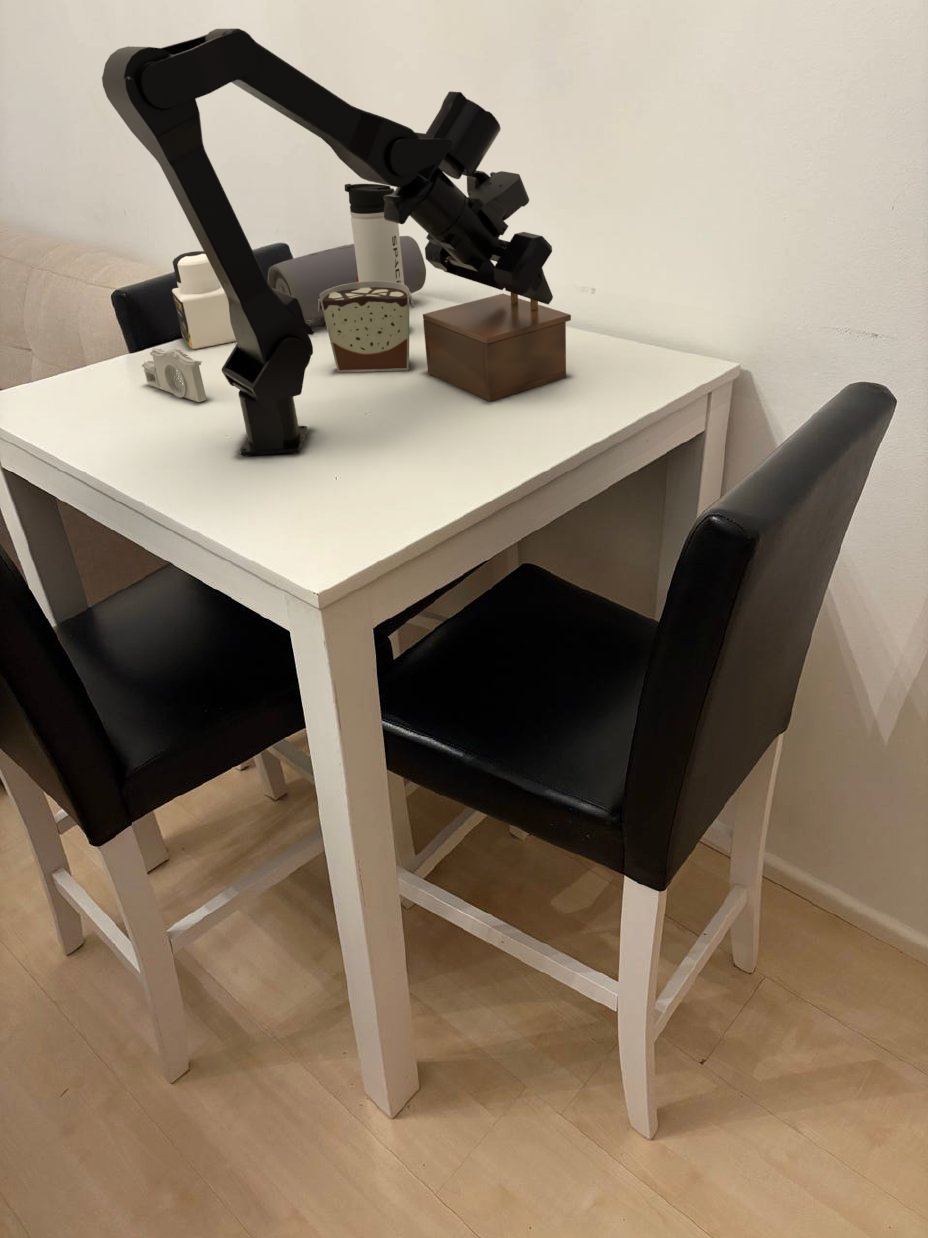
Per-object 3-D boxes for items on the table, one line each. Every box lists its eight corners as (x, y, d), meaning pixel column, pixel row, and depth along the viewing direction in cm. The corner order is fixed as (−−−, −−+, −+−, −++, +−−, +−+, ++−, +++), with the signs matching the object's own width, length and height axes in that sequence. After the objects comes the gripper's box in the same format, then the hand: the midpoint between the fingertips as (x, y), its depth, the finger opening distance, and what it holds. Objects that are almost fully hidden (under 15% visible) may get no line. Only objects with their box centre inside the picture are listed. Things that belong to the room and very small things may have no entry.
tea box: (500, 351, 129) (498, 299, 125) (566, 377, 119) (566, 321, 115) (427, 373, 123) (422, 319, 120) (490, 401, 114) (487, 344, 110)
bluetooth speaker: (300, 338, 139) (289, 267, 133) (272, 325, 145) (259, 256, 140) (431, 304, 149) (425, 236, 144) (399, 293, 156) (392, 227, 150)
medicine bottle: (182, 337, 143) (163, 253, 137) (229, 328, 146) (212, 245, 139) (192, 350, 138) (172, 263, 131) (241, 340, 140) (224, 254, 134)
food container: (426, 354, 130) (419, 277, 124) (420, 369, 125) (412, 290, 119) (336, 356, 131) (325, 281, 126) (326, 372, 126) (315, 294, 121)
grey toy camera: (145, 386, 126) (134, 341, 123) (157, 381, 128) (146, 337, 124) (199, 404, 119) (188, 357, 116) (210, 399, 121) (200, 353, 117)
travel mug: (358, 330, 141) (339, 181, 129) (402, 323, 142) (387, 175, 131) (368, 342, 136) (349, 188, 124) (413, 335, 137) (399, 182, 126)
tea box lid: (503, 298, 125) (501, 262, 123) (571, 320, 116) (571, 281, 113) (422, 319, 120) (419, 282, 117) (487, 344, 110) (485, 304, 108)
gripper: (536, 156, 100) (614, 248, 111) (438, 142, 114) (516, 225, 125) (478, 250, 101) (561, 331, 112) (387, 225, 114) (469, 300, 125)
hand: (526, 293), depth 119 cm, fingers open, 9 cm apart
